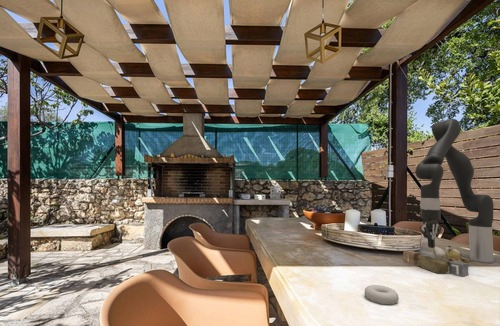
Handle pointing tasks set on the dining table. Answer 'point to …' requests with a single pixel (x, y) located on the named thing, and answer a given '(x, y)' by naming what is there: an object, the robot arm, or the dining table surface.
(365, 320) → the dining table surface
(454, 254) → the ceramic sculpture
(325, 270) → the dining table surface
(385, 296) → the donut
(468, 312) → the dining table surface
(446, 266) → the stone block
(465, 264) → the charcoal block
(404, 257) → the cardboard box
